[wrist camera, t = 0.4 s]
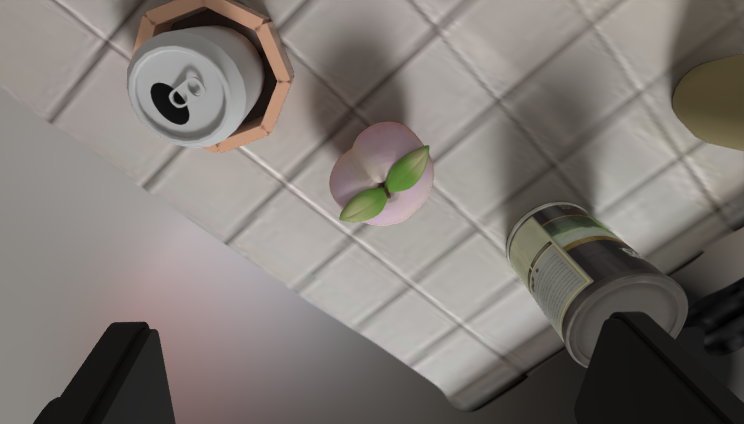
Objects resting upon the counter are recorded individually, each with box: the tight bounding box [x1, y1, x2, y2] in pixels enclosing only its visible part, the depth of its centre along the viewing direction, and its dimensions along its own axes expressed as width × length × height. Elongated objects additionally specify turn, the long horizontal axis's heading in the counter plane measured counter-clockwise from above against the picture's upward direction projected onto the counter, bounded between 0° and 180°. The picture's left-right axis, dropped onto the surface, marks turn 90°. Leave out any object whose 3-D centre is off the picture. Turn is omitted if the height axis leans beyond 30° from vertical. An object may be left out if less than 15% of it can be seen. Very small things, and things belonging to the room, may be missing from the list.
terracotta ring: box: [131, 0, 294, 153], centre depth 36 cm, size 12×12×4 cm
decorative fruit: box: [329, 121, 434, 226], centre depth 38 cm, size 9×8×10 cm
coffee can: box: [506, 202, 688, 368], centre depth 42 cm, size 10×10×14 cm
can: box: [127, 25, 265, 148], centre depth 32 cm, size 8×8×12 cm
